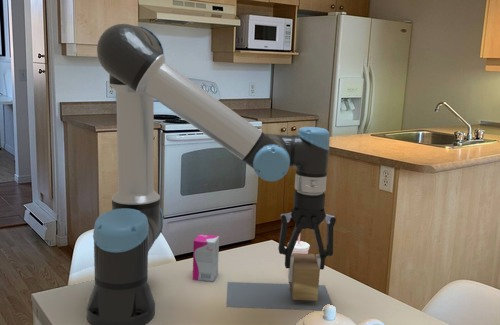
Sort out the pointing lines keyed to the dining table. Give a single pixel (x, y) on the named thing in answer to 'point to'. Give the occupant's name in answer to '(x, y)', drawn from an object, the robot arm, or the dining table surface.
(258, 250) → the dining table surface
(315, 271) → the walnut block
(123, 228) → the robot arm
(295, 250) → the beverage cup
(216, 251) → the supplement box
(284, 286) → the slate mat
